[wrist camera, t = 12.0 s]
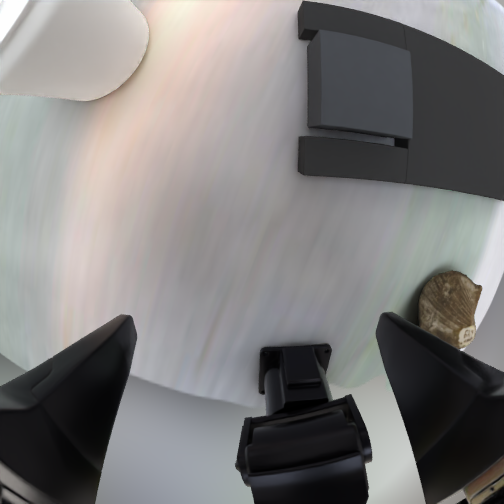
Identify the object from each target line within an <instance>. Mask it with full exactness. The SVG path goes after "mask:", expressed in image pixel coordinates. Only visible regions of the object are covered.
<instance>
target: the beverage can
mask: <svg viewBox="0 0 504 504" xmlns="http://www.w3.org/2000/svg"><path fill="white" fill-rule="evenodd" d="M148 40H149V27H148V23H147V21H146V18H145V17H144V15H143V14H142V13H141V12H140V11H139V10H138V9H137V8H136V6H135V5H134V4H133V3H132V2H131V1H130V0H0V95H24V96H39V97H50V98H60V99H69V100H77V101H91V100H95V99H98V98H101V97H103V96H105V95H107V94H109V93H111V92H112V91H114V90H115V89H117V88H118V87H119V86H121V85H122V84H123V83H124V82H125V81H126V80H127V79H128V78H129V77H130V76H131V75H132V74H133V72H134V71H135V70H136V68H137V67H138V65H139V64H140V62H141V60H142V58H143V56H144V54H145V51H146V48H147V45H148Z"/></svg>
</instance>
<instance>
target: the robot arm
mask: <svg viewBox="0 0 504 504" xmlns="http://www.w3.org/2000/svg"><path fill="white" fill-rule="evenodd" d="M376 338H377V342H378V345H379V349H380V353H381V356H382V360H383V364H384V368H385V371H386V373H387V376H388V379H389V381H390V384H391V387H392V390H393V392H394V395H395V398H396V401H397V404H398V407H399V410H400V412H401V415H402V418H403V421H404V425H405V428H406V431H407V434H408V437H409V440H410V444H411V447H412V451H413V454H414V458H415V461H416V465H417V469H418V472H419V476H420V480H421V484H422V488H423V493H424V497H425V502H426V504H439V503H441V502H442V501H445V500H446V499H448V498H450V497H452V496H454V495H456V494H457V493H459V492H461V491H464V494H465V496H466V498H465V499H463V500H462V501H460V502H458V503H457V504H504V372H502V371H500V370H498V369H496V368H494V367H492V366H489V365H487V364H485V363H483V362H481V361H479V360H477V359H475V358H474V357H472V356H470V355H468V354H466V353H465V352H463V351H460V350H459V349H458V348H456V347H454V346H452V345H451V344H449V343H447V342H445V341H443V340H442V339H440V338H438V337H436V336H434V335H433V334H431V333H429V332H427V331H426V330H424V329H422V328H420V327H418V326H417V325H415V324H413V323H411V322H409V321H408V320H406V319H404V318H402V317H400V316H399V315H397V314H395V313H393V312H384V313H382V314H381V316H380V319H379V322H378V325H377V329H376ZM136 341H137V332H136V329H135V325H134V321H133V318H132V316H130V315H119V316H117V317H116V318H114V319H113V320H111V321H109V322H108V323H106V324H104V325H103V326H101V327H100V328H98V329H96V330H95V331H93V332H92V333H90V334H88V335H87V336H85V337H84V338H82V339H80V340H79V341H77V342H75V343H74V344H72V345H71V346H69V347H68V348H66V349H64V350H63V351H61V352H60V353H58V354H56V355H55V356H53V358H50V359H48V360H47V361H45V362H44V363H42V364H40V365H39V366H37V367H36V368H34V369H32V370H30V371H28V372H26V373H25V374H23V375H21V376H19V377H17V378H15V379H13V380H12V381H9V382H8V383H6V384H4V385H2V386H0V504H95V501H96V496H97V490H98V486H99V482H100V477H101V473H102V472H101V471H102V468H103V463H104V459H105V455H106V451H107V447H108V444H109V440H110V436H111V432H112V428H113V425H114V422H115V418H116V415H117V411H118V408H119V404H120V401H121V398H122V395H123V392H124V389H125V386H126V382H127V379H128V376H129V373H130V368H131V364H132V359H133V354H134V350H135V345H136ZM326 349H327V350H326ZM265 352H267V353H265ZM331 352H332V349H331V346H330V345H327V344H326V345H311V346H293V347H265V348H262V349H261V350H260V366H259V393H260V394H262V395H265V401H266V416H261V417H254V418H252V417H248V418H245V420H244V426H242V432H241V438H240V443H239V449H238V454H237V461H236V463H235V467H236V469H237V470H238V471H239V472H240V473H241V476H242V479H243V481H244V483H245V484H246V486H248V487H251V490H252V494H253V498H254V504H366V503H367V500H368V497H369V495H368V489H369V486H368V480H367V474H366V468H365V464H366V463H369V462H371V461H372V449H371V443H370V439H369V435H368V431H367V429H366V426H365V423H364V421H363V419H362V417H361V414H360V412H359V410H358V408H357V406H356V404H355V401H354V399H353V397H352V395H351V394H350V395H346V396H345V397H343V398H340V399H336V400H333V399H332V395H331V392H330V388H329V385H328V381H327V378H326V371H327V368H328V364H329V360H330V356H331Z"/></svg>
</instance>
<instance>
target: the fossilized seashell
mask: <svg viewBox="0 0 504 504" xmlns="http://www.w3.org/2000/svg"><path fill="white" fill-rule="evenodd" d="M481 291H482V286H481V285H476V284H475V283H473V282H472V281H471V280H470V279H469V278H468V277H467V275H464V274H462V273H461V272H458V271H448V272H444V273H440V274H438V275H436V276H434V277H433V278H432V279H431V280H430V281H428V282H427V283H426V285H425V286H424V288H423V290H422V292H421V295H420V298H419V302H418V311H419V312H418V321H419V325H418V327H420V328H422V329H424V330H426V331H427V332H429V333H431V334H433V335H434V336H436V337H438V338H440V339H442V340H443V341H445V342H447V343H449V344H451V345H452V346H454V347H456V348H458V349H461V348H464V347H466V346H468V345H469V344H470V343H471V342H472V341H473V340H474V337H475V332H476V326H475V321H474V314H475V310H476V307H477V303H478V300H479V298H480V294H481Z"/></svg>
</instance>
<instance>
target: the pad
mask: <svg viewBox="0 0 504 504" xmlns="http://www.w3.org/2000/svg"><path fill="white" fill-rule="evenodd" d="M307 59H308V124H307V126H308V128H319V129H329V130H339V131H347V132H355V133H362V134H369V135H375V136H381V137H389V138H405V139H412V135H413V85H412V67H411V55H410V51H407V50H404V49H401V48H398V47H395V46H392V45H388V44H385V43H381V42H378V41H374V40H370V39H366V38H362V37H358V36H353V35H348V34H343V33H338V32H333V31H327V30H319V31H318V33H317V34H316V35H315V37H314V38H313V40H312V41H311V42H310V44H309V45H308V47H307Z"/></svg>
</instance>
